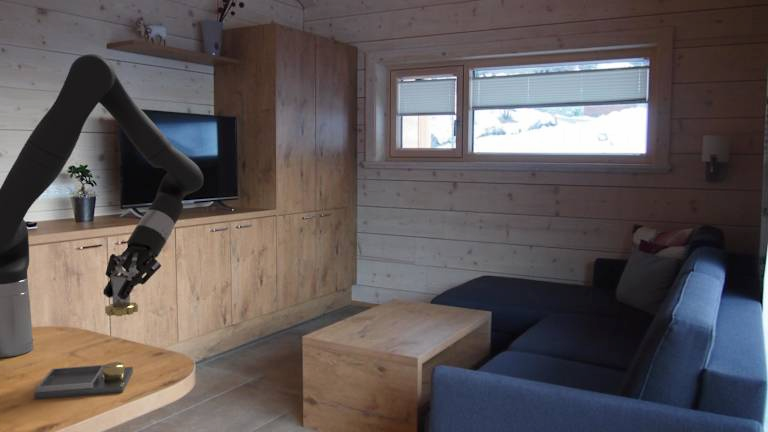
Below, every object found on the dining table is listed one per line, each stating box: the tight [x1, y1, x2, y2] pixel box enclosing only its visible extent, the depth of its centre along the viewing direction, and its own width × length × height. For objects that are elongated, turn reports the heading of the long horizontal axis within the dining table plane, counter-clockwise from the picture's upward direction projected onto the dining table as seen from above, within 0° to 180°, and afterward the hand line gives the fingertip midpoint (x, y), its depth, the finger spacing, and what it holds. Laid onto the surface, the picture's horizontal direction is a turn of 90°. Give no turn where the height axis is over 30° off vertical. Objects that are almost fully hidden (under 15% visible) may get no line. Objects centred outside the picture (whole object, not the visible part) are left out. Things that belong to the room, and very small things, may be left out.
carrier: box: [34, 361, 134, 400], centre depth 132 cm, size 16×11×4 cm
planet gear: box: [104, 274, 139, 317], centre depth 145 cm, size 7×7×8 cm
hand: (114, 296), depth 143 cm, fingers closed on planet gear, 3 cm apart
